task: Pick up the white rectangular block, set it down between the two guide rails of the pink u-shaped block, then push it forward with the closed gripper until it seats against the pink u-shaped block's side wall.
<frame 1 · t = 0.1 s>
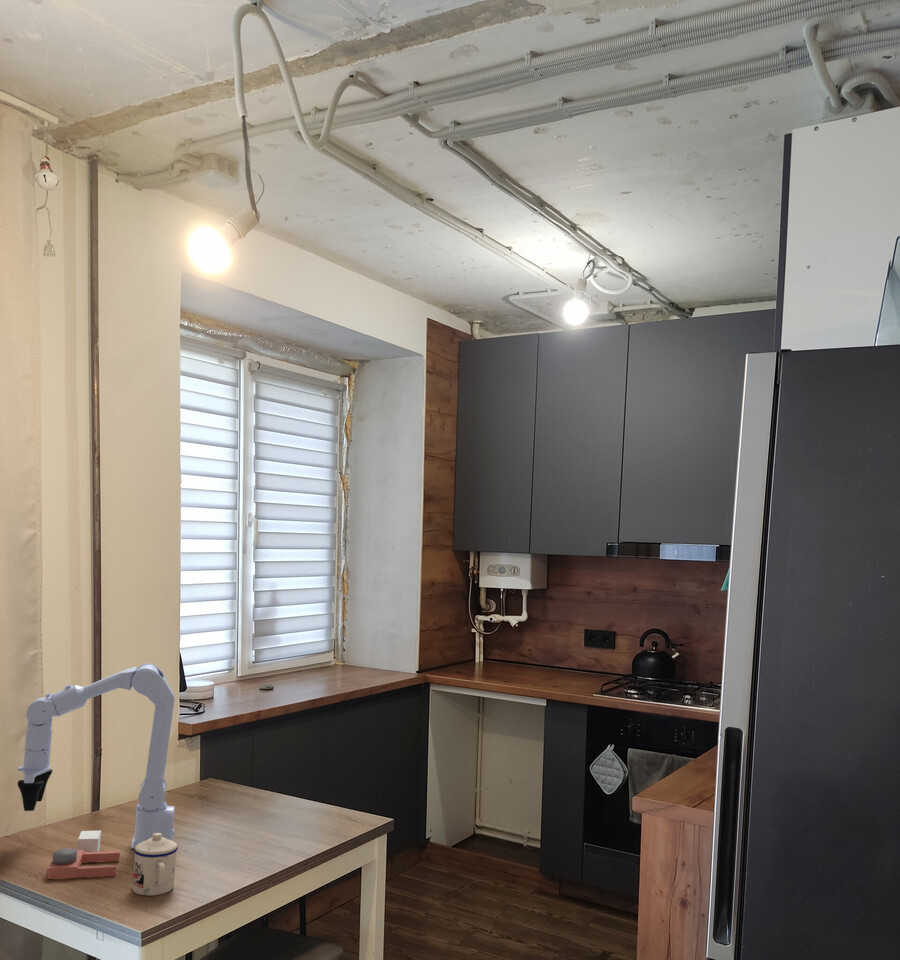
hand: (33, 805, 211), 10 cm above the table, tool pointing down, fingers open, 7 cm apart
pink u-shaped block: (65, 870, 197), on the table
white rectangular block: (88, 854, 208), on the table
teacup with lid: (154, 892, 188), on the table
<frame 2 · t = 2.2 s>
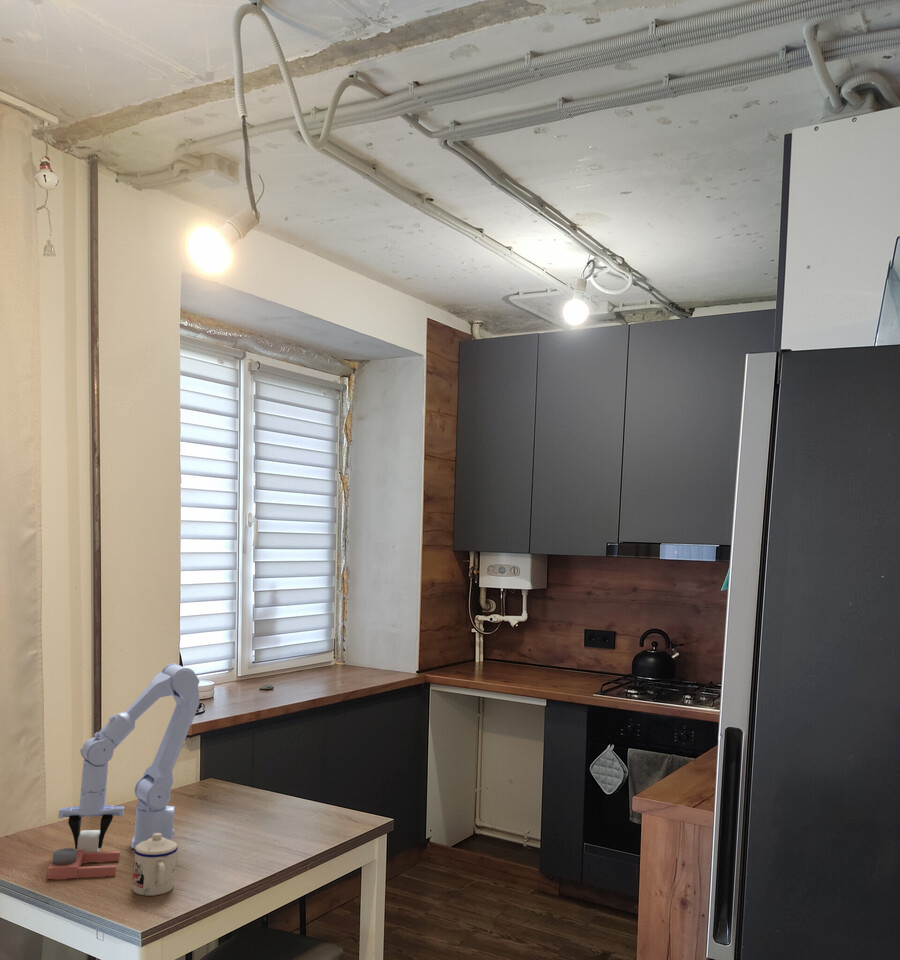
hand: (88, 847, 209), 1 cm above the table, tool pointing down, fingers closed on white rectangular block, 4 cm apart
white rectangular block: (88, 853, 208), on the table, touching gripper
everything else where it was.
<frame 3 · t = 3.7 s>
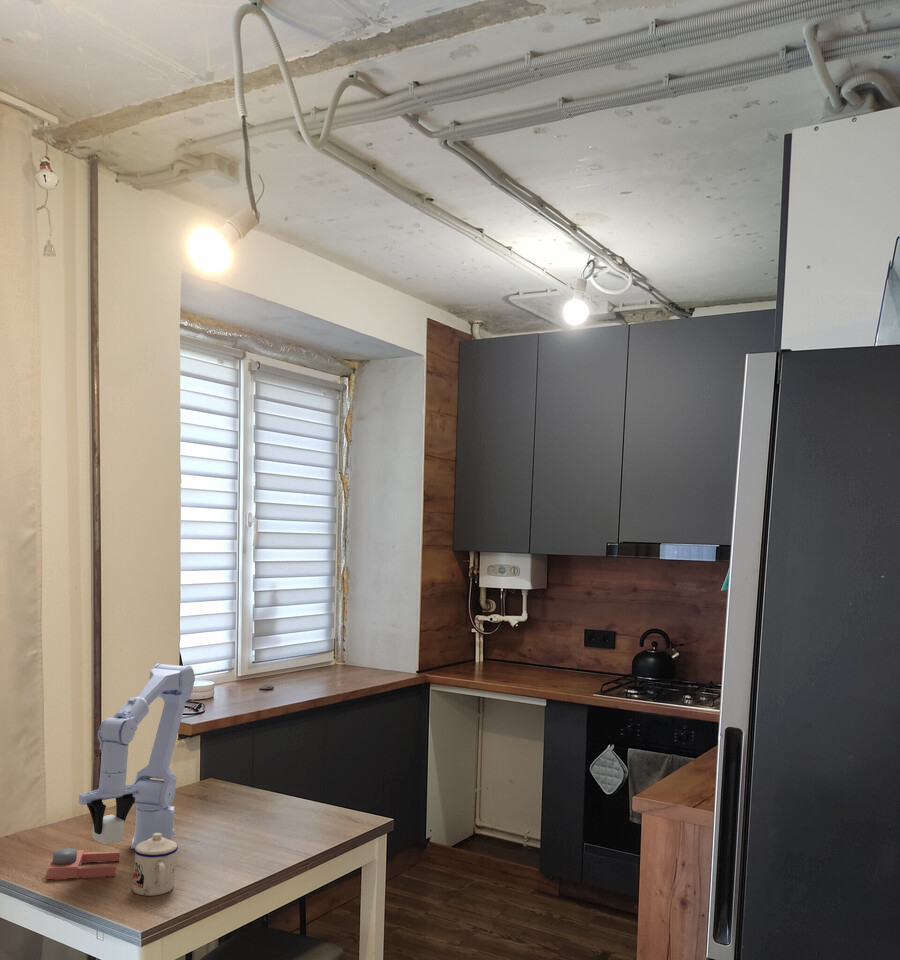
hand: (108, 830, 200), 8 cm above the table, tool pointing down, fingers closed on white rectangular block, 4 cm apart
white rectangular block: (107, 839, 200), point 6 cm above the table, touching gripper
everything else where it was.
when the fingers open (3 cm above the table, at t = 5.2 s): white rectangular block drops 1 cm, on the table.
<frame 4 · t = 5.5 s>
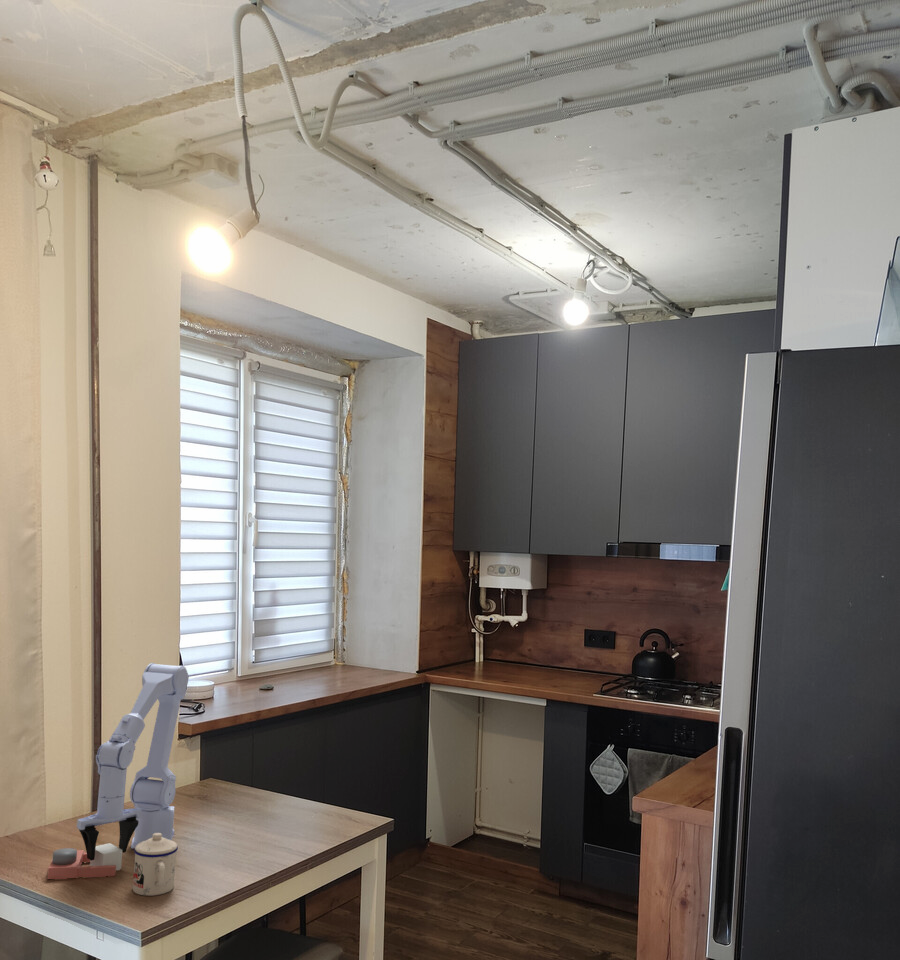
hand: (106, 855, 200), 3 cm above the table, tool pointing down, fingers open, 7 cm apart
white rectangular block: (105, 868, 200), on the table
everything else where it was.
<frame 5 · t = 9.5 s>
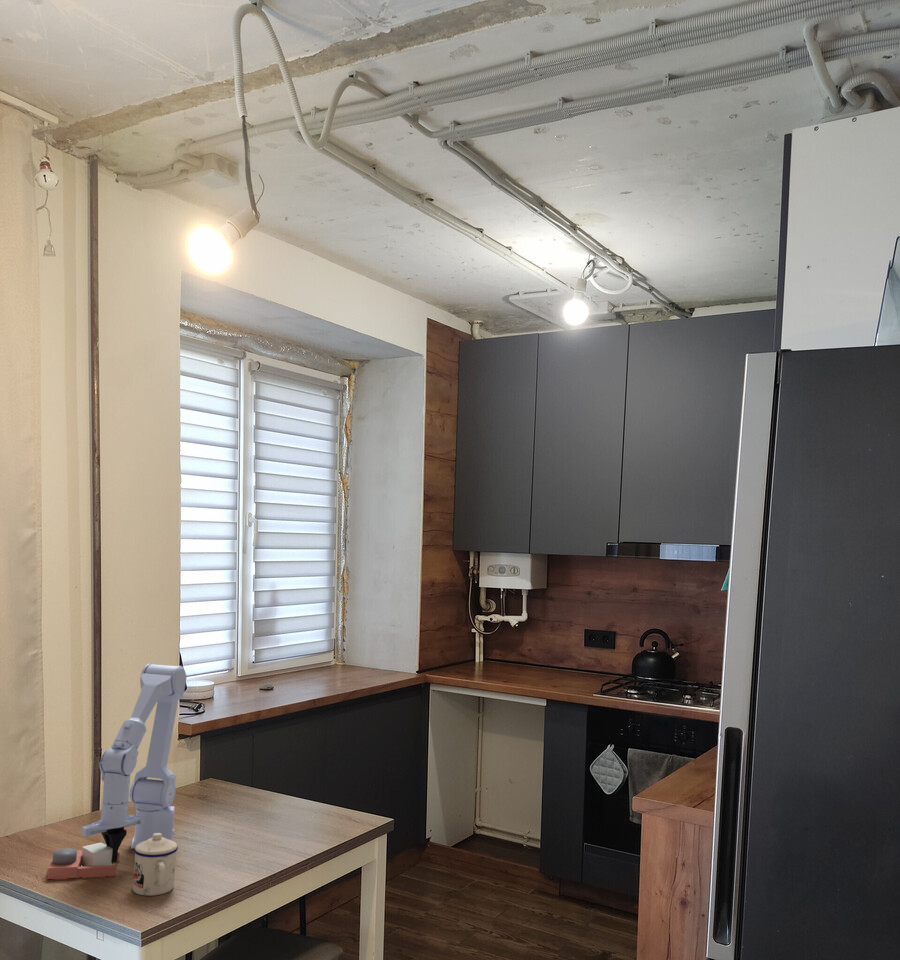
hand: (111, 861, 200), 1 cm above the table, tool pointing down, fingers closed, pressing on white rectangular block
white rectangular block: (96, 867, 199), on the table, touching pink u-shaped block, gripper
everything else where it was.
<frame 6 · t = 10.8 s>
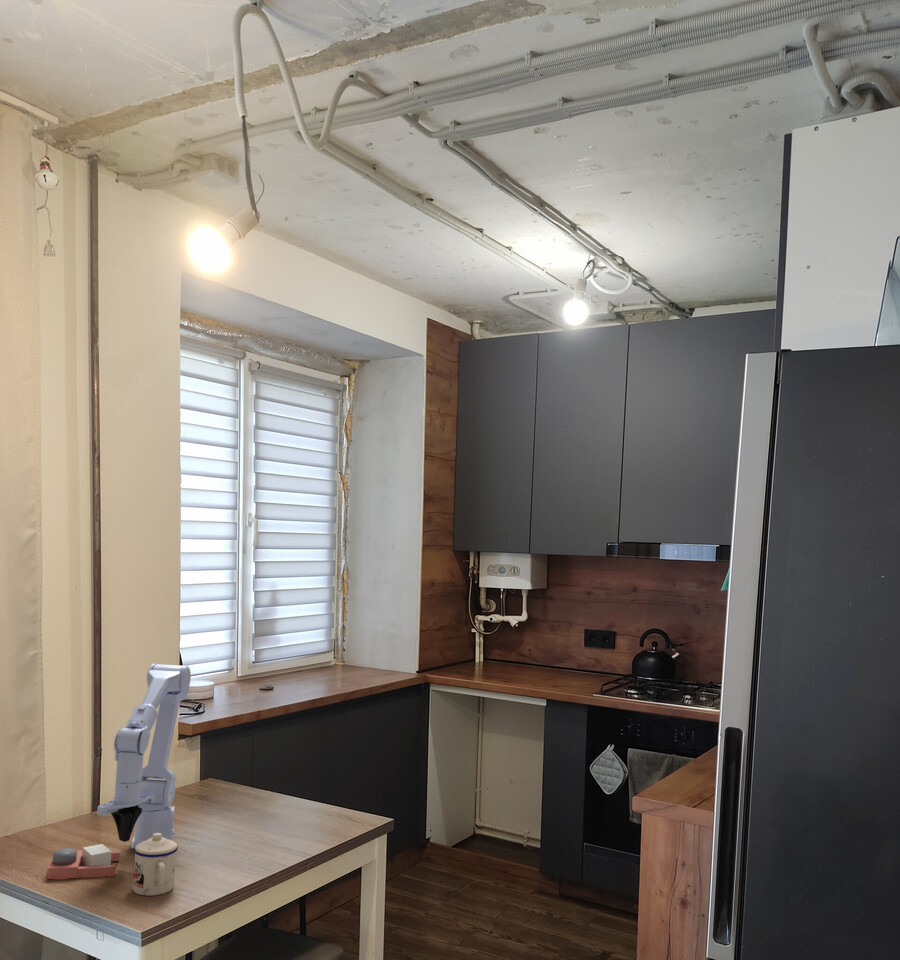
hand: (124, 840, 201), 6 cm above the table, tool pointing down, fingers closed
white rectangular block: (95, 869, 199), on the table
everything else where it was.
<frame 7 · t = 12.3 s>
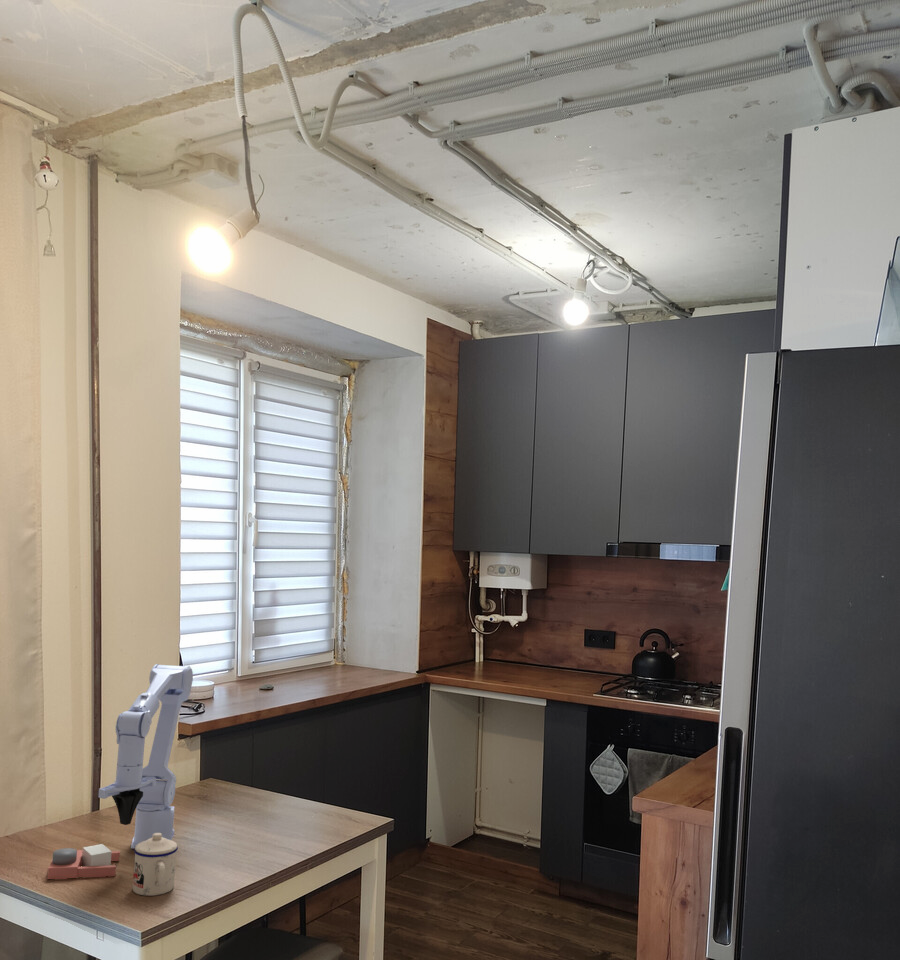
hand: (125, 823, 201), 10 cm above the table, tool pointing down, fingers closed
nothing on the table moved.
at the end: white rectangular block 0.9 cm from the target spot, on the table; white rectangular block tilted 0°; the gripper is holding nothing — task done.
